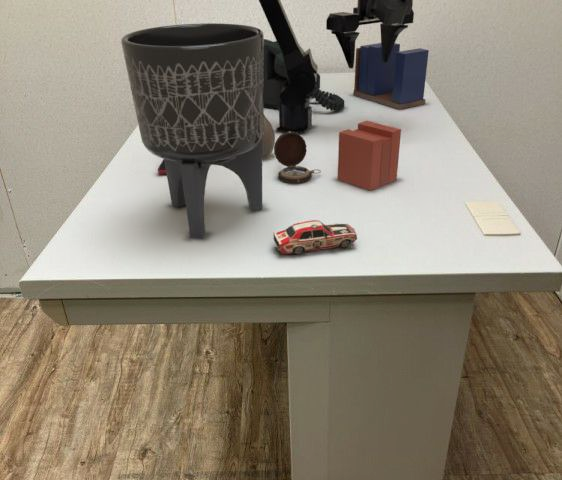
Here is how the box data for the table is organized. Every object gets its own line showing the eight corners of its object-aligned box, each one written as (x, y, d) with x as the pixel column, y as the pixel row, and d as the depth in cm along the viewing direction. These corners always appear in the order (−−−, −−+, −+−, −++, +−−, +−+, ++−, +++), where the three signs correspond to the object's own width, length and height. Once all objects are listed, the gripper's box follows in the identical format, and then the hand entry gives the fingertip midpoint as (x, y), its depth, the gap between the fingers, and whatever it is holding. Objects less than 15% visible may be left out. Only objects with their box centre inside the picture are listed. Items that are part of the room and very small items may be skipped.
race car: (275, 252, 92) (270, 224, 89) (352, 233, 92) (349, 205, 89) (280, 268, 88) (274, 239, 85) (360, 248, 88) (357, 219, 85)
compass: (282, 185, 109) (281, 144, 105) (274, 171, 115) (273, 131, 111) (325, 181, 110) (325, 140, 106) (314, 167, 117) (315, 128, 112)
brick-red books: (337, 179, 111) (338, 129, 106) (363, 169, 115) (366, 120, 109) (370, 190, 106) (373, 138, 101) (396, 180, 110) (401, 129, 105)
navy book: (400, 104, 147) (405, 54, 141) (391, 101, 150) (396, 52, 143) (423, 99, 151) (428, 50, 144) (414, 96, 153) (419, 48, 146)
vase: (271, 162, 119) (269, 116, 114) (237, 161, 120) (234, 115, 115) (278, 151, 125) (277, 106, 119) (246, 150, 126) (243, 105, 120)
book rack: (399, 109, 148) (404, 59, 141) (353, 95, 160) (355, 48, 153) (425, 104, 151) (430, 54, 144) (377, 90, 164) (380, 44, 157)
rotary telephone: (368, 98, 157) (372, 32, 148) (328, 118, 143) (330, 47, 134) (262, 85, 172) (260, 24, 163) (216, 102, 158) (211, 37, 149)
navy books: (373, 95, 154) (376, 47, 148) (358, 91, 159) (360, 44, 152) (396, 91, 158) (400, 44, 151) (380, 86, 162) (383, 40, 155)
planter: (257, 245, 90) (246, 47, 74) (133, 238, 93) (96, 46, 77) (280, 196, 105) (275, 22, 89) (173, 191, 108) (149, 23, 92)
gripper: (361, -16, 109) (357, 78, 119) (437, -24, 117) (427, 65, 126) (325, -20, 117) (324, 69, 126) (398, -27, 124) (392, 57, 134)
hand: (368, 65), depth 128 cm, fingers open, 9 cm apart
